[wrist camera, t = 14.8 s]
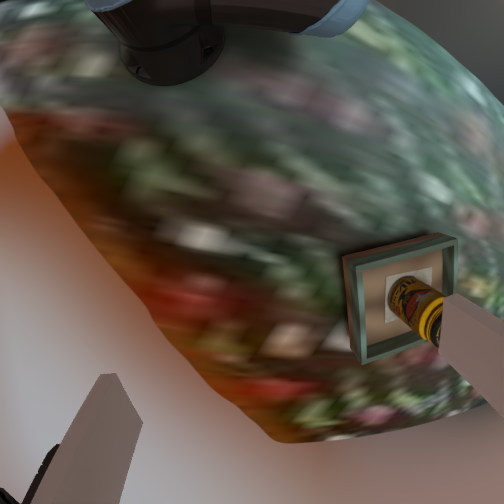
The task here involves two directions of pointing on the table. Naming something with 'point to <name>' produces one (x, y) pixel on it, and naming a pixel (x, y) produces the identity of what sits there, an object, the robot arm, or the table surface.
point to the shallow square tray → (374, 287)
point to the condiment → (415, 303)
